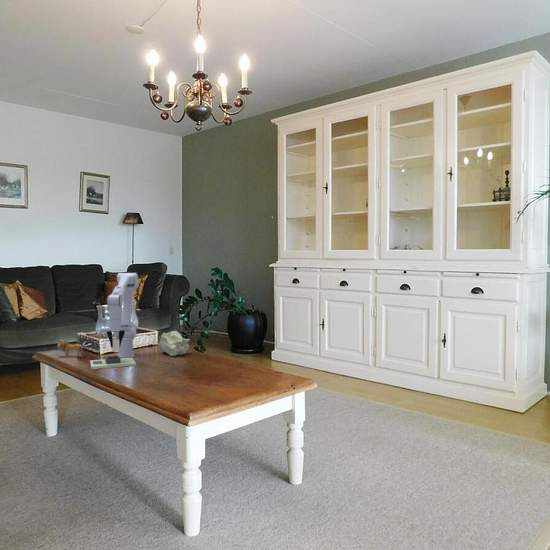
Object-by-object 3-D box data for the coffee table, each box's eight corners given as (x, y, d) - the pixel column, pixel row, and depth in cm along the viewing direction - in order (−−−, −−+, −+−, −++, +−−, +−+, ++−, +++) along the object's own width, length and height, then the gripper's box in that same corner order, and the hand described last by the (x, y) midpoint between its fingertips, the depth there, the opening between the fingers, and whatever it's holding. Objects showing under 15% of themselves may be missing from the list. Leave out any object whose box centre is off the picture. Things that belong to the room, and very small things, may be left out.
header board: (90, 362, 240) (90, 356, 240) (132, 359, 248) (132, 353, 247) (91, 369, 226) (91, 362, 226) (135, 365, 234) (135, 359, 234)
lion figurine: (55, 358, 251) (55, 340, 251) (59, 356, 256) (59, 339, 256) (85, 357, 252) (85, 340, 252) (88, 355, 257) (88, 338, 257)
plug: (111, 350, 239) (111, 337, 239) (118, 349, 240) (118, 337, 240) (112, 351, 234) (112, 339, 234) (119, 351, 236) (119, 338, 235)
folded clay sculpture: (183, 366, 262) (195, 342, 260) (163, 364, 253) (176, 338, 251) (168, 349, 274) (180, 325, 272) (149, 345, 265) (161, 321, 263)
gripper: (100, 320, 230) (100, 349, 230) (131, 319, 236) (132, 347, 236) (99, 319, 236) (99, 346, 237) (130, 317, 242) (130, 344, 243)
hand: (115, 346), depth 237 cm, fingers closed on plug, 3 cm apart
